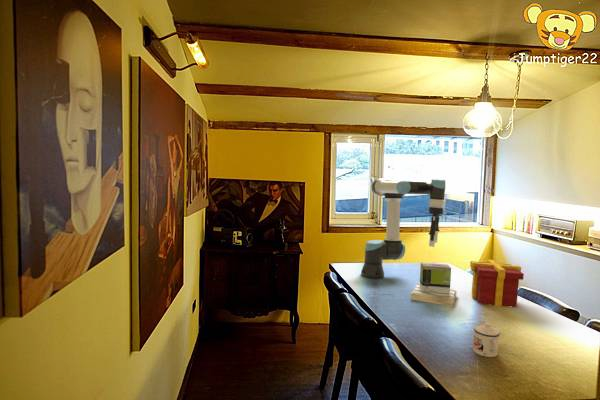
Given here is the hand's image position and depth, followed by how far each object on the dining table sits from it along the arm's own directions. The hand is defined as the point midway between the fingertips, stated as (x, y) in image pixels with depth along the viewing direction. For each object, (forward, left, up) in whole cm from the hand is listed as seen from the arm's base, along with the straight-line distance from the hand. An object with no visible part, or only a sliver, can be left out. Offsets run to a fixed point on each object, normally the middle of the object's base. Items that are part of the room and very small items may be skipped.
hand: (433, 244), depth 225 cm
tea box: (+2, +2, -26) cm, 26 cm away
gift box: (-13, +33, -30) cm, 46 cm away
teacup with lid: (+65, +30, -30) cm, 78 cm away
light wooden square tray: (+2, +3, -30) cm, 30 cm away
